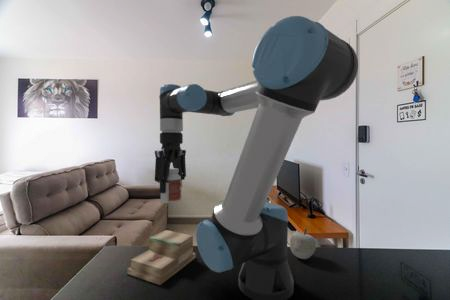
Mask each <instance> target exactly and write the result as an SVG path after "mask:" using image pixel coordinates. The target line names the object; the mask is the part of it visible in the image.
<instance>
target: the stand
mask: <svg viewBox="0 0 450 300" xmlns="http://www.w3.org/2000/svg"><path fill="white" fill-rule="evenodd" d="M148 240H149V249H148V250H146V251H144V252H142V253H141V254H139V255H137V256H135V257H133V258H132V259H130V266H129V267H128V268H127V269H126V274H127V275H130V276H133V277H135V278H138V279H141V280H144V281H146V282H150V283H153V284H156V285H158V286H161V285H162V284H164V283H166V281H168V280H169V279H170V278H172V276H175V274H177V273H178V272H179V271H181V270H182V269H183V268H184V267H185V266H187V265H188V264H190V263H191V262H192V261H193V260H195V258H197V257H196V255H197V254H196V253H195V252H193V251H194V236H193V235H192V234H187V233H182V232H177V231H174V230H173V231H172V230H167V229H164V230H163V231H160V232H158V233H156V234H154V235H152V236H150V237H149V239H148Z"/></svg>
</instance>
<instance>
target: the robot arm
mask: <svg viewBox="0 0 450 300" xmlns="http://www.w3.org/2000/svg"><path fill="white" fill-rule="evenodd" d="M357 55H358V54H357V53H356V51H355V49H354V48H353V47H352V45H350V43H348V42H346V40H343V39H342V38H340V37H339V36H337V35H335V34H334V33H333V32H331V31H330V30H328V29H327V28H325V26H324V25H323V24H321V22H317V21H314V20H312V19H309V18H307V17H305V16H301V15H292V16H289V17H285V18H282V19H280V20H278V21H277V22H276V23H275V24H274V25H273V26H270V27H269V28H268V29H267V30H266V31H265V32H264V34H263V35H262V36H261V37H260V39H259V41H257V44H256V46H255V49H254V51H253V55H252V59H251V66H252V69H253V70H252V74H253V76H254V78H255V79H256V80H254V81H251V82H250V81H249V82H247V83H244V84H241V85H238V86H233V87H230V88H228V89H225V90H221V91H213V90H208V89H204V88H203V87H202V86H201V85H199V84H197V83H190V84H187V85H184V86H180V85H178V84H174V83H173V84H172V83H171V84H163V85H161V86H160V88H159V97H158V98H159V131H160V133H159V143H160V144H161V148H160V149H158V150H157V149H156V150H154V155H155V164H154V165H155V170H154V181H155V182H157V183H159V193H160V203H163V204H170V203H169V183H166V182H167V178H168V174H169V169H170V168H171V165H172V168H178V169H179V172H178V175H180V177H181V189H182V187H183V181H184V180H185V178H186V176H187V169H186V168H187V167H186V166H187V165H186V153H187V151H186V149H182V148H181V145H182V144H183V142H184V140H183V139H184V138H183V133H182V132H183V131H184V126H183V125H184V123H183V122H184V121H183V119H184V117H183V116H184V115H183V114H184V113H197V114H204V115H205V114H207V115H216V116H221V117H230V116H233V115H234V114H235V113H237V112H238V113H239V112H244V111H246V110H253V109H256V111H255V113H254V117H253V120H252V121H251V122H252V123H251V125H250V128H249V131H248V133H247V137H246V139H245V141H244V145H243V147H242V151H241V154H240V156H239V159H238V162H237V165H236V167H235V169H234V172H233V175H232V178H231V181H230V183H229V187H228V189H227V192H226V195H225V197H224V199H223V200H221V201H219V202H217V203H216V205H214V209H213V211H212V214H211V217H210V218H209V219H203V221H201V222H199V223H198V225H197V227H196V230H195V240H196V246H197V249H198V252H199V255H200V257H201V259H202V260H203V263H205V265H206V266H207V268H209V269H210V270H211V271H212V272H216V273H222V272H226V271H231V270H232V269H234V268H237V267H238V266H240V265H241V268H240V270H239V273H238V287H239V290H240V292H241V293H242V294H243V295H245V296H246V297H247V298H249V299H251V300H289V299H290V298H291V297H292V296H293V294H294V289H295V288H294V284H295V283H294V278H293V275H292V271H291V269H290V266H289V261H288V235H289V234H288V232H289V231H288V229H289V227H288V226H289V219H288V218H289V217H288V210H287V209H286V207H285V206H283V205H280V204H276V203H273V202H267V199H268V197H269V195H270V193H271V190H272V188H273V186H274V184H275V181H276V179H277V177H278V174H279V173H280V171H281V169H282V168H281V167H282V166H283V163H284V162H285V159H286V158H287V157H286V156H287V155H288V152H289V150H290V147H291V146H292V142H293V141H294V138H295V136H296V134H297V132H298V129H299V127H300V124H301V123H302V121H303V119H304V118H306V117H308V116H310V115H312V114H314V113H315V112H316V109H317V108H318V105H319V103H320V101H326V100H327V101H328V100H332V99H335V98H337V97H340V96H341V95H342V94H345V92H346V91H348V89H350V87H351V86H352V85H353V84H354V82H355V79H356V78H357V75H358V70H359V59H358V56H357ZM163 178H164V179H163Z"/></svg>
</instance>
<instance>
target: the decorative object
mask: <svg viewBox="0 0 450 300" xmlns="http://www.w3.org/2000/svg"><path fill="white" fill-rule="evenodd" d="M289 246H290V247H289V248H290V251H291V253H292V254H293V255H294V256H295V257H297V258H298V259H302V260H307V259H310V258H311V257H312V255H313V254H314V253H315V252H316V248H317V240H316V239H315V237H314V236H312V235H310V234H307V228H304V230H303V232H301V231H295V232H293V233H292V234H291V235H290V238H289Z"/></svg>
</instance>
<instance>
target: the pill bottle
mask: <svg viewBox="0 0 450 300" xmlns="http://www.w3.org/2000/svg"><path fill="white" fill-rule="evenodd" d="M178 172H179V169H178V168H173V167H170V169H169V174H168V178H167V182H166V183H169V203H168V204H171V203H173V204H174V203H178V202H180V201H181V200H182V188H181V177H180V175H178ZM163 179H164V178H163Z"/></svg>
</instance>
